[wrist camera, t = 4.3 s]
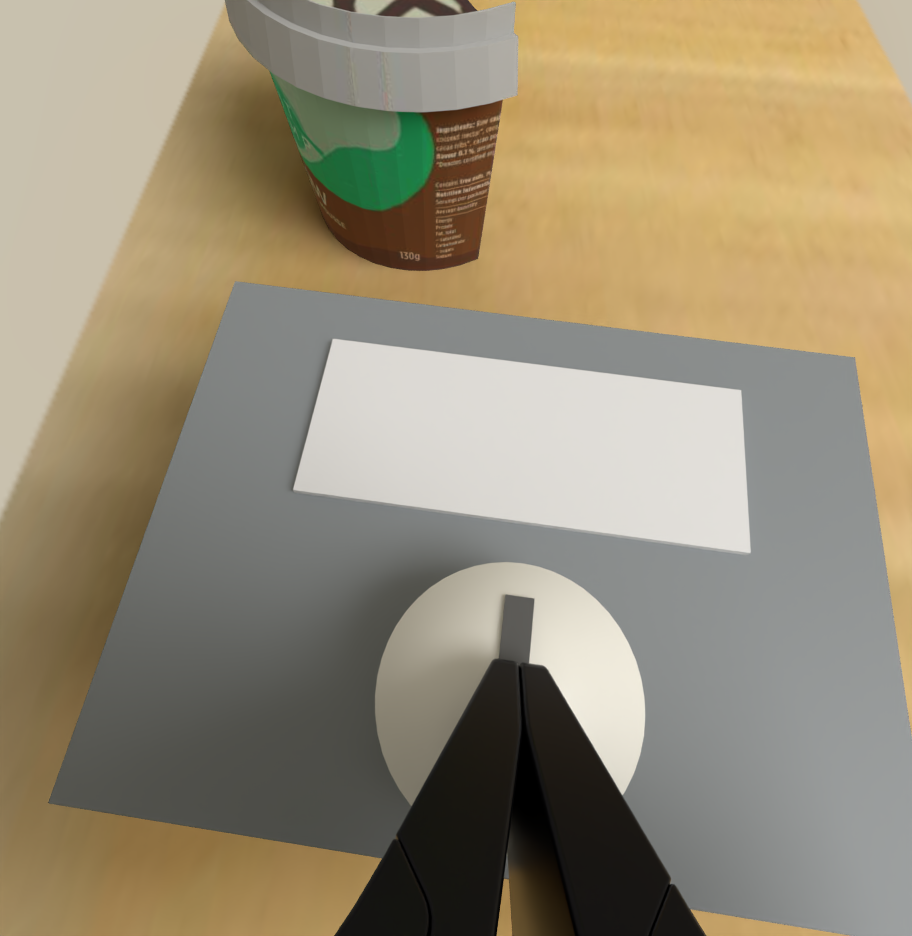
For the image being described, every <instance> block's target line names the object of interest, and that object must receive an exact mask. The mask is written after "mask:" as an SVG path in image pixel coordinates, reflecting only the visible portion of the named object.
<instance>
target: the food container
mask: <svg viewBox="0 0 912 936" xmlns="http://www.w3.org/2000/svg"><path fill="white" fill-rule="evenodd" d="M225 3H226V8H227V13H228V17H229V21H230V23H231V25H232V27H233V29H234V31H235V34H236V36H237V38H238V39H239V41H240V42H241V43H242V44H243V46H244V47H245V48H246V49H247V50H248V52H249V53H250V54H251V55H252V57H253V58H255V59H256V60H257V61H258V62H259V63H261V64H262V65H263V66H264V67H266V68H267V69H268V70H269V71H270V74H271V76H272V79H273V82H274V84H275V87H276V90H277V93H278V95H279V98H280V101H281V104H282V106H283V109H284V112H285V114H286V117H287V120H288V123H289V125H290V128H291V131H292V134H293V136H294V139H295V142H296V144H297V147H298V150H299V153H300V155H301V158H302V161H303V164H304V166H305V169H306V172H307V174H308V177H309V180H310V183H311V185H312V188H313V191H314V194H315V196H316V199H317V202H318V204H319V207H320V210H321V213H322V215H323V218H324V220H325V222H326V224H327V226H328V228H329V229H330V231H331V232H332V233H333V235H334V236H335V237H336V239H337V240H338V241H340V242H341V243H342V244H343V245H344V246H345V247H346V248H347V249H349V250H350V251H352V252H354V253H355V254H357V255H358V256H360V257H362V258H364V259H367V260H369V261H371V262H373V263H376V264H379V265H383V266H387V267H390V268H396V269H403V270H417V271H428V270H438V269H445V268H450V267H454V266H459V265H462V264H465V263H467V262H470V261H473V260H476V259H478V256H479V249H480V243H481V237H482V230H483V224H484V217H485V211H486V204H487V198H488V191H489V185H490V179H491V172H492V166H493V159H494V153H495V146H496V140H497V134H498V127H499V121H500V114H501V108H502V101H503V99H506V98H510V97H513V96H516V95H517V87H518V36H517V35H516V34H515V33H514V20H515V6H516V3H515V2H511V3H508V4H504V5H500V6H497V7H493V8H489V9H486V10H480V11H477V10H476V9H475V8H474V7H473V6H472V4H471V3H470V2H469V1H468V0H225Z"/></svg>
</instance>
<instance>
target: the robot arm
mask: <svg viewBox="0 0 912 936" xmlns="http://www.w3.org/2000/svg"><path fill="white" fill-rule="evenodd" d="M507 854H508V870H509V887H510V904H511V921H512V936H706V935H705V933H704V931H703V930H702V928H701V927H700V925H699V923H698V922H697V920H696V919H695V917H694V915H693V914H692V912H691V910H690V908H689V907H688V905H687V903H686V902H685V900H684V898H683V896H682V895H681V893H680V891H679V890H678V888H677V886H676V885H675V884H670V883H671V877H670V875H669V873H668V872H667V870H666V868H665V866H664V865H663V863H662V861H661V860H660V858H659V856H658V855H657V853H656V851H655V850H654V848H653V846H652V844H651V843H650V841H649V839H648V838H647V836H646V834H645V833H644V831H643V829H642V828H641V826H640V824H639V823H638V821H637V819H636V817H635V816H634V814H633V812H632V811H631V809H630V807H629V806H628V804H627V802H626V801H625V799H624V797H623V795H622V794H621V792H620V790H619V789H618V787H617V785H616V784H615V782H614V780H613V779H612V777H611V775H610V774H609V772H608V770H607V768H606V767H605V765H604V763H603V762H602V760H601V758H600V757H599V755H598V753H597V752H596V750H595V748H594V746H593V745H592V743H591V741H590V740H589V738H588V736H587V735H586V733H585V731H584V730H583V728H582V726H581V725H580V723H579V721H578V719H577V718H576V716H575V714H574V713H573V711H572V709H571V708H570V706H569V704H568V703H567V701H566V699H565V697H564V696H563V694H562V692H561V691H560V689H559V687H558V686H557V684H556V682H555V681H554V679H553V677H552V676H551V674H550V672H549V670H548V669H547V668H546V667H545V666H543V665H538V664H531V663H521V664H520V665H518V663H517V662H516V661H511V660H504V659H493V660H492V661H491V663H490V665H489V666H488V668H487V670H486V672H485V674H484V675H483V677H482V679H481V681H480V683H479V685H478V686H477V688H476V690H475V692H474V694H473V695H472V697H471V699H470V701H469V703H468V704H467V706H466V708H465V710H464V712H463V714H462V715H461V717H460V719H459V721H458V723H457V724H456V726H455V728H454V730H453V732H452V734H451V735H450V737H449V739H448V741H447V743H446V744H445V746H444V748H443V750H442V752H441V754H440V755H439V757H438V759H437V761H436V763H435V764H434V766H433V768H432V770H431V772H430V773H429V775H428V777H427V779H426V781H425V783H424V784H423V786H422V788H421V790H420V792H419V793H418V795H417V797H416V799H415V801H414V803H413V804H412V806H411V808H410V810H409V812H408V813H407V815H406V817H405V819H404V821H403V822H402V824H401V826H400V828H399V830H398V832H397V833H396V838H395V839H393V840H392V842H391V844H390V845H389V847H388V849H387V851H386V853H385V854H384V856H383V858H382V860H381V862H380V863H379V865H378V867H377V869H376V870H375V872H374V874H373V875H372V877H371V879H370V880H369V882H368V884H367V885H366V887H365V889H364V891H363V892H362V894H361V896H360V897H359V899H358V901H357V902H356V904H355V906H354V907H353V909H352V910H351V912H350V913H349V915H348V916H347V918H346V919H345V921H344V922H343V924H342V925H341V927H340V928H339V930H338V931H337V933H336V934H335V935H334V936H496V935H497V927H498V919H499V912H500V904H501V896H502V888H503V881H504V873H505V865H506V857H507Z"/></svg>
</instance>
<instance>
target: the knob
mask: <svg viewBox="0 0 912 936" xmlns="http://www.w3.org/2000/svg"><path fill="white" fill-rule="evenodd" d="M493 659H504V660H511V661H516V662H517V663H518V665H520V664H521V663H531V664H538V665H543V666H545V667H546V668H547V669H548V670H549V672H550V674H551V676H552V677H553V679H554V681H555V682H556V684H557V686H558V687H559V689H560V691H561V692H562V694H563V696H564V697H565V699H566V701H567V703H568V704H569V706H570V708H571V709H572V711H573V713H574V714H575V716H576V718H577V719H578V721H579V723H580V725H581V726H582V728H583V730H584V731H585V733H586V735H587V736H588V738H589V740H590V741H591V743H592V745H593V746H594V748H595V750H596V752H597V753H598V755H599V757H600V758H601V760H602V762H603V763H604V765H605V767H606V768H607V770H608V772H609V774H610V775H611V777H612V779H613V780H614V782H615V784H616V785H617V787H618V789H619V790H620V792H621V794H622V795H623V794H624V792H625V791H626V789H627V787H628V785H629V783H630V781H631V778H632V776H633V774H634V772H635V769H636V766H637V763H638V760H639V757H640V753H641V748H642V743H643V738H644V728H645V699H644V692H643V686H642V680H641V676H640V672H639V669H638V666H637V662H636V659H635V657H634V655H633V652H632V650H631V647H630V645H629V643H628V641H627V639H626V638H625V636H624V634H623V632H622V631H621V629H620V627H619V626H618V624H617V623H616V622H615V620H614V619H613V618H612V616H611V615H610V613H609V612H608V611H607V610H606V609H605V608H604V607H603V606H602V605H601V604H600V603H599V602H598V600H596V599H595V598H594V597H593V596H592V595H591V594H589V593H588V592H587V591H586V590H585V589H583V588H582V587H580V586H579V585H577V584H576V583H574V582H573V581H571V580H570V579H568V578H566V577H564V576H562V575H560V574H557V573H555V572H553V571H550V570H547V569H544V568H541V567H538V566H533V565H529V564H524V563H513V562H498V563H487V564H482V565H477V566H473V567H470V568H467V569H464V570H461V571H458V572H456V573H454V574H452V575H450V576H448V577H446V578H444V579H442V580H441V581H439V582H438V583H436V584H435V585H433V586H432V587H430V588H429V589H428V590H427V591H425V592H424V593H423V594H422V595H421V596H420V597H418V598H417V600H416V601H415V602H414V603H413V604H412V605H411V606H410V607H409V608H408V610H407V611H406V612H405V613H404V615H403V616H402V618H401V619H400V621H399V622H398V624H397V625H396V627H395V629H394V631H393V633H392V634H391V636H390V638H389V640H388V643H387V645H386V648H385V650H384V653H383V656H382V659H381V663H380V667H379V671H378V675H377V683H376V691H375V717H376V725H377V733H378V738H379V742H380V746H381V750H382V753H383V756H384V759H385V761H386V764H387V766H388V769H389V771H390V773H391V775H392V777H393V779H394V781H395V783H396V784H397V786H398V788H399V790H400V791H401V793H402V794H403V795H404V797H405V798H406V800H407V801H408V802H409V804H410V805H411V806H412V804H413V803H414V801H415V799H416V797H417V795H418V793H419V792H420V790H421V788H422V786H423V784H424V783H425V781H426V779H427V777H428V775H429V773H430V772H431V770H432V768H433V766H434V764H435V763H436V761H437V759H438V757H439V755H440V754H441V752H442V750H443V748H444V746H445V744H446V743H447V741H448V739H449V737H450V735H451V734H452V732H453V730H454V728H455V726H456V724H457V723H458V721H459V719H460V717H461V715H462V714H463V712H464V710H465V708H466V706H467V704H468V703H469V701H470V699H471V697H472V695H473V694H474V692H475V690H476V688H477V686H478V685H479V683H480V681H481V679H482V677H483V675H484V674H485V672H486V670H487V668H488V666H489V665H490V663H491V661H492V660H493ZM507 856H508V854H507Z"/></svg>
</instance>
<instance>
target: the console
mask: <svg viewBox="0 0 912 936" xmlns="http://www.w3.org/2000/svg"><path fill="white" fill-rule="evenodd" d="M498 562H513V563H524V564H529V565H533V566H538V567H541V568H544V569H547V570H550V571H553V572H555V573H557V574H560V575H562V576H564V577H566V578H568V579H570V580H571V581H573V582H574V583H576V584H577V585H579V586H580V587H582V588H583V589H585V590H586V591H587V592H588V593H589V594H591V595H592V596H593V597H594V598H595V599H596V600H598V602H599V603H600V604H601V605H602V606H603V607H604V608H605V609H606V610H607V611H608V612H609V613H610V615H611V616H612V618H613V619H614V620H615V622H616V623H617V624H618V626H619V627H620V629H621V631H622V632H623V634H624V636H625V638H626V639H627V641H628V643H629V645H630V647H631V650H632V652H633V655H634V657H635V659H636V662H637V666H638V669H639V672H640V676H641V680H642V686H643V692H644V699H645V728H644V738H643V743H642V748H641V753H640V757H639V760H638V763H637V766H636V769H635V772H634V774H633V776H632V778H631V781H630V783H629V785H628V787H627V789H626V791H625V792H624V794H623V797H624V799H625V801H626V802H627V804H628V806H629V807H630V809H631V811H632V812H633V814H634V816H635V817H636V819H637V821H638V823H639V824H640V826H641V828H642V829H643V831H644V833H645V834H646V836H647V838H648V839H649V841H650V843H651V844H652V846H653V848H654V850H655V851H656V853H657V855H658V856H659V858H660V860H661V861H662V863H663V865H664V866H665V868H666V870H667V872H668V873H669V875H670V877H671V883H670V884H675V885H676V886H677V888H678V890H679V891H680V893H681V895H682V896H683V898H684V900H685V902H686V903H687V905H688V907H689V908H690V909H693V910H699V911H705V912H711V913H717V914H723V915H729V916H735V917H741V918H747V919H753V920H759V921H766V922H772V923H778V924H784V925H790V926H796V927H802V928H808V929H814V930H820V931H826V932H832V933H838V934H844V935H850V936H912V736H911V730H910V723H909V716H908V710H907V703H906V696H905V690H904V683H903V676H902V670H901V663H900V656H899V650H898V643H897V636H896V629H895V623H894V616H893V609H892V603H891V596H890V589H889V583H888V576H887V569H886V563H885V556H884V549H883V543H882V536H881V529H880V522H879V516H878V509H877V502H876V496H875V489H874V482H873V476H872V469H871V462H870V456H869V449H868V442H867V436H866V429H865V422H864V416H863V409H862V402H861V395H860V389H859V382H858V375H857V369H856V362H855V357H846V356H838V355H830V354H822V353H814V352H806V351H798V350H790V349H781V348H773V347H765V346H757V345H749V344H741V343H733V342H724V341H716V340H708V339H700V338H692V337H684V336H676V335H667V334H659V333H651V332H643V331H635V330H627V329H619V328H611V327H602V326H594V325H586V324H578V323H570V322H562V321H554V320H545V319H537V318H529V317H521V316H513V315H505V314H497V313H488V312H480V311H472V310H464V309H456V308H448V307H440V306H432V305H423V304H415V303H407V302H399V301H391V300H383V299H375V298H366V297H358V296H350V295H342V294H334V293H326V292H318V291H309V290H301V289H293V288H285V287H277V286H269V285H261V284H252V283H244V282H236V281H235V283H234V286H233V289H232V292H231V295H230V297H229V300H228V303H227V306H226V309H225V311H224V314H223V317H222V320H221V322H220V325H219V328H218V331H217V334H216V336H215V339H214V342H213V345H212V348H211V350H210V353H209V356H208V359H207V362H206V364H205V367H204V370H203V373H202V375H201V378H200V381H199V384H198V387H197V389H196V392H195V395H194V398H193V401H192V403H191V406H190V409H189V412H188V414H187V417H186V420H185V423H184V426H183V428H182V431H181V434H180V437H179V440H178V442H177V445H176V448H175V451H174V454H173V456H172V459H171V462H170V465H169V467H168V470H167V473H166V476H165V479H164V481H163V484H162V487H161V490H160V493H159V495H158V498H157V501H156V504H155V506H154V509H153V512H152V515H151V518H150V520H149V523H148V526H147V529H146V532H145V534H144V537H143V540H142V543H141V546H140V548H139V551H138V554H137V557H136V559H135V562H134V565H133V568H132V571H131V573H130V576H129V579H128V582H127V585H126V587H125V590H124V593H123V596H122V598H121V601H120V604H119V607H118V610H117V612H116V615H115V618H114V621H113V624H112V626H111V629H110V632H109V635H108V638H107V640H106V643H105V646H104V649H103V651H102V654H101V657H100V660H99V663H98V665H97V668H96V671H95V674H94V677H93V679H92V682H91V685H90V688H89V690H88V693H87V696H86V699H85V702H84V704H83V707H82V710H81V713H80V716H79V718H78V721H77V724H76V727H75V730H74V732H73V735H72V738H71V741H70V743H69V746H68V749H67V752H66V755H65V757H64V760H63V763H62V766H61V769H60V771H59V774H58V777H57V780H56V782H55V785H54V788H53V791H52V794H51V796H50V799H49V802H48V803H50V804H56V805H62V806H68V807H74V808H80V809H86V810H92V811H98V812H104V813H110V814H116V815H122V816H128V817H135V818H141V819H147V820H153V821H159V822H165V823H171V824H177V825H183V826H189V827H195V828H201V829H207V830H213V831H220V832H226V833H232V834H238V835H244V836H250V837H256V838H262V839H268V840H274V841H280V842H286V843H292V844H298V845H304V846H311V847H317V848H323V849H329V850H335V851H341V852H347V853H353V854H359V855H365V856H371V857H377V858H383V856H384V854H385V853H386V851H387V849H388V847H389V845H390V844H391V842H392V840H393V839H395V838H396V833H397V832H398V830H399V828H400V826H401V824H402V822H403V821H404V819H405V817H406V815H407V813H408V812H409V810H410V808H411V805H410V804H409V802H408V801H407V800H406V798H405V797H404V795H403V794H402V793H401V791H400V790H399V788H398V786H397V784H396V783H395V781H394V779H393V777H392V775H391V773H390V771H389V769H388V766H387V764H386V761H385V759H384V756H383V753H382V750H381V746H380V742H379V738H378V733H377V725H376V717H375V691H376V683H377V675H378V671H379V667H380V663H381V659H382V656H383V653H384V650H385V648H386V645H387V643H388V640H389V638H390V636H391V634H392V633H393V631H394V629H395V627H396V625H397V624H398V622H399V621H400V619H401V618H402V616H403V615H404V613H405V612H406V611H407V610H408V608H409V607H410V606H411V605H412V604H413V603H414V602H415V601H416V600H417V598H418V597H420V596H421V595H422V594H423V593H424V592H425V591H427V590H428V589H429V588H430V587H432V586H433V585H435V584H436V583H438V582H439V581H441V580H442V579H444V578H446V577H448V576H450V575H452V574H454V573H456V572H458V571H461V570H464V569H467V568H470V567H473V566H477V565H482V564H487V563H498ZM504 878H505V879H509V870H508V856H507V857H506V865H505V873H504Z"/></svg>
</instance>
